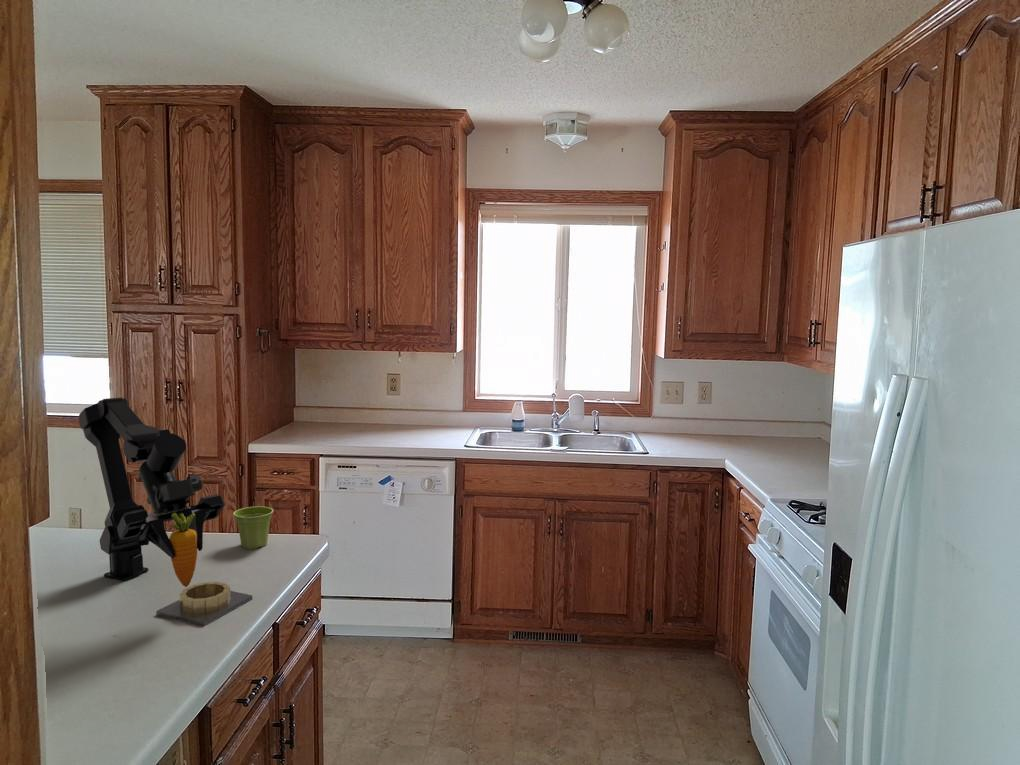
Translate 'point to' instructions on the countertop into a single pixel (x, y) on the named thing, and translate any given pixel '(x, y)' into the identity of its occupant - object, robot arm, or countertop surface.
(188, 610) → the collar plate
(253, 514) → the plant pot
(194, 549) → the carrot
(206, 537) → the countertop surface
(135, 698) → the countertop surface
